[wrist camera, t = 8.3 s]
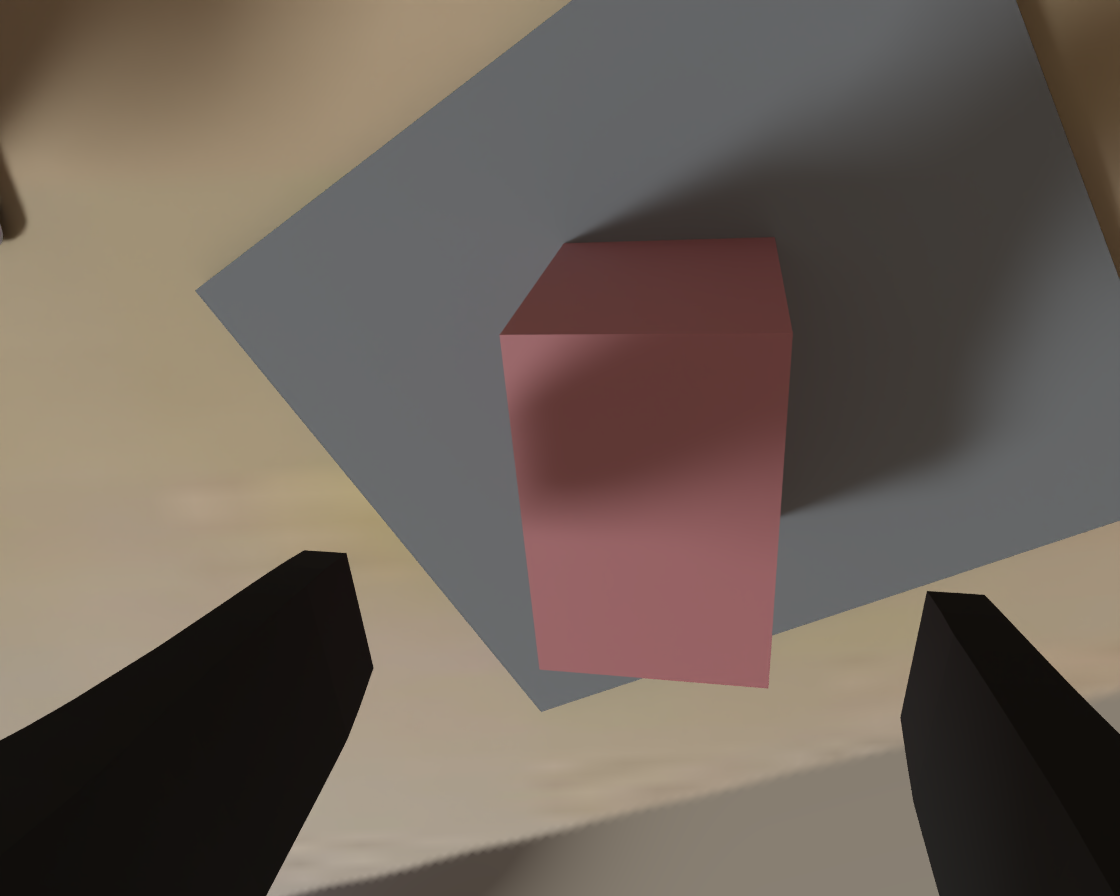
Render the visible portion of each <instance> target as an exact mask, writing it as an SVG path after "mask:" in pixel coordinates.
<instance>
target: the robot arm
mask: <svg viewBox="0 0 1120 896" xmlns="http://www.w3.org/2000/svg"><path fill="white" fill-rule="evenodd" d="M2 239H3V233H2V228H1V225H0V244H1V243H2ZM372 671H373V664H372V660H371V655H370V651H369V647H368V643H367V638H366V634H365V630H364V626H363V622H362V617H361V613H360V609H359V605H358V600H357V596H356V592H355V588H354V583H353V579H352V575H351V571H350V566H349V562H348V558H347V554H346V553H336V552H321V551H306V550H304V551H302V552H301V553H299V554H297V555H296V556H294V557H292V558H291V559H289V560H287V561H286V562H284V563H283V564H281V565H279V566H278V567H276V568H275V569H273V570H272V571H270V572H269V573H267V574H266V575H264V576H263V577H261V578H260V579H258V580H257V581H255V582H254V583H252V584H251V585H249V586H248V587H246V588H245V589H243V590H242V591H240V592H239V593H237V594H236V595H234V596H233V597H232V598H230V599H229V600H227V601H226V602H224V603H223V604H221V605H220V606H218V607H217V608H215V609H214V610H212V611H211V612H209V613H208V614H206V615H205V616H203V617H202V618H200V619H199V620H197V621H196V622H194V623H193V624H191V625H190V626H188V627H187V628H185V629H184V630H183V631H181V632H180V633H178V634H177V635H175V636H174V637H172V638H171V639H169V640H168V641H166V642H165V643H163V644H162V645H160V646H159V647H157V648H155V649H154V650H152V651H151V652H149V653H147V654H146V655H144V656H143V657H141V658H139V659H138V660H136V661H135V662H133V663H131V664H130V665H128V666H127V667H125V668H123V669H122V670H120V671H119V672H117V673H115V674H114V675H112V676H111V677H109V678H107V679H106V680H104V681H103V682H101V683H99V684H98V685H96V686H95V687H93V688H91V689H90V690H88V691H87V692H85V693H83V694H82V695H80V696H79V697H77V698H75V699H74V700H72V701H70V702H68V703H67V704H65V705H63V706H62V707H60V708H58V709H57V710H55V711H53V712H51V713H50V714H48V715H46V716H44V717H42V718H41V719H39V720H37V721H35V722H34V723H32V724H30V725H28V726H27V727H25V728H23V729H21V730H19V731H17V732H15V733H14V734H12V735H10V736H8V737H6V738H4V739H2V740H0V896H266V895H267V893H268V891H269V889H270V887H271V885H272V884H273V882H274V880H275V878H276V876H277V874H278V872H279V870H280V868H281V866H282V864H283V863H284V861H285V859H286V857H287V855H288V853H289V851H290V849H291V847H292V845H293V843H294V842H295V840H296V838H297V836H298V834H299V832H300V830H301V828H302V826H303V824H304V822H305V821H306V819H307V817H308V815H309V813H310V811H311V809H312V807H313V805H314V803H315V802H316V800H317V798H318V796H319V794H320V792H321V790H322V788H323V786H324V784H325V782H326V780H327V778H328V776H329V774H330V772H331V771H332V769H333V767H334V765H335V763H336V761H337V759H338V757H339V755H340V753H341V751H342V749H343V747H344V745H345V743H346V741H347V739H348V736H349V734H350V731H351V729H352V726H353V723H354V721H355V718H356V716H357V713H358V710H359V708H360V705H361V702H362V699H363V696H364V694H365V691H366V688H367V685H368V682H369V679H370V676H371V673H372ZM900 718H901V724H902V731H903V738H904V745H905V752H906V759H907V765H908V771H909V778H910V783H911V790H912V796H913V802H914V805H915V809H916V813H917V817H918V820H919V824H920V827H921V831H922V835H923V838H924V842H925V846H926V849H927V853H928V856H929V860H930V864H931V867H932V871H933V875H934V878H935V882H936V885H937V889H938V892H939V895H940V896H1120V734H1119V733H1118V732H1117V731H1116V730H1115V729H1114V728H1113V727H1112V726H1111V725H1110V724H1109V723H1108V722H1107V721H1106V720H1105V719H1104V718H1103V717H1102V716H1101V715H1100V714H1099V713H1098V712H1097V711H1096V710H1095V709H1094V708H1093V707H1092V706H1091V705H1090V704H1089V703H1088V702H1087V701H1086V700H1085V699H1084V698H1083V697H1082V696H1081V695H1080V694H1079V693H1078V692H1077V691H1076V690H1075V689H1074V688H1073V687H1072V686H1071V685H1070V684H1069V683H1068V682H1067V681H1066V680H1065V679H1064V678H1063V677H1062V676H1061V675H1060V674H1059V672H1058V671H1057V670H1056V669H1055V668H1054V667H1053V666H1052V665H1051V664H1050V663H1049V662H1048V661H1047V660H1046V659H1045V658H1044V657H1043V656H1042V655H1041V654H1040V653H1039V652H1038V651H1037V649H1036V648H1035V647H1034V646H1033V645H1032V644H1031V643H1030V642H1029V641H1028V640H1027V639H1026V638H1025V637H1024V636H1023V635H1022V634H1021V633H1020V632H1019V631H1018V629H1017V628H1016V627H1015V626H1014V625H1013V624H1012V623H1011V622H1010V621H1009V620H1008V619H1007V618H1006V617H1005V616H1004V615H1003V614H1002V613H1001V612H1000V610H999V609H998V608H997V607H996V606H995V605H994V604H993V603H992V602H991V601H990V600H989V599H988V598H987V597H986V596H985V595H978V594H963V593H947V592H932V591H927V594H926V598H925V603H924V608H923V613H922V618H921V622H920V627H919V632H918V637H917V641H916V646H915V651H914V656H913V660H912V665H911V670H910V675H909V679H908V684H907V689H906V694H905V698H904V703H903V708H902V713H901V717H900Z"/></svg>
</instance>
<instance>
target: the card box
mask: <svg viewBox="0 0 1120 896" xmlns="http://www.w3.org/2000/svg"><path fill="white" fill-rule="evenodd" d="M792 338H793V331H792V326H791V321H790V316H789V310H788V305H787V300H786V294H785V289H784V284H783V278H782V273H781V268H780V262H779V257H778V252H777V247H776V241H775V237H762V238H727V239H693V240H658V241H623V242H589V243H564V244H563V245H562V247H561V248H560V249H559V251H558V252H557V254H556V255H555V256H554V258H553V259H552V261H551V262H550V264H549V265H548V266H547V268H546V269H545V271H544V272H543V274H542V275H541V276H540V278H539V279H538V281H537V282H536V284H535V285H534V286H533V288H532V289H531V291H530V292H529V294H528V295H527V296H526V298H525V299H524V301H523V302H522V303H521V305H520V306H519V308H518V309H517V311H516V312H515V313H514V315H513V316H512V318H511V319H510V321H509V322H508V323H507V325H506V326H505V328H504V329H503V331H502V332H501V333H500V343H501V351H502V360H503V368H504V376H505V385H506V393H507V402H508V410H509V418H510V427H511V435H512V443H513V452H514V460H515V469H516V477H517V485H518V494H519V502H520V510H521V519H522V527H523V535H524V544H525V552H526V561H527V569H528V577H529V586H530V594H531V602H532V611H533V619H534V628H535V636H536V644H537V653H538V661H539V669H540V670H551V671H563V672H575V673H588V674H600V675H612V676H624V677H636V678H648V679H661V680H673V681H685V682H697V683H709V684H721V685H734V686H746V687H758V688H768V685H769V671H770V656H771V642H772V627H773V613H774V598H775V584H776V570H777V555H778V541H779V526H780V512H781V497H782V483H783V468H784V454H785V439H786V425H787V410H788V396H789V382H790V367H791V353H792Z"/></svg>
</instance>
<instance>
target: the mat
mask: <svg viewBox="0 0 1120 896" xmlns="http://www.w3.org/2000/svg"><path fill="white" fill-rule="evenodd" d="M762 237H775V241H776V247H777V252H778V257H779V262H780V268H781V273H782V278H783V284H784V289H785V294H786V300H787V305H788V310H789V316H790V321H791V326H792V331H793V338H792V353H791V367H790V382H789V396H788V410H787V425H786V439H785V454H784V468H783V483H782V497H781V512H780V526H779V541H778V555H777V570H776V584H775V598H774V613H773V627H772V635H775V634H778V633H781V632H784V631H787V630H790V629H793V628H796V627H799V626H802V625H805V624H808V623H811V622H814V621H817V620H820V619H823V618H826V617H829V616H832V615H835V614H838V613H841V612H844V611H847V610H850V609H853V608H856V607H860V606H863V605H866V604H869V603H872V602H875V601H878V600H881V599H884V598H887V597H890V596H893V595H896V594H899V593H902V592H905V591H908V590H911V589H914V588H917V587H920V586H923V585H926V584H929V583H932V582H935V581H938V580H941V579H944V578H947V577H950V576H953V575H956V574H959V573H962V572H965V571H968V570H971V569H974V568H977V567H980V566H983V565H987V564H990V563H993V562H996V561H999V560H1002V559H1005V558H1008V557H1011V556H1014V555H1017V554H1020V553H1023V552H1026V551H1029V550H1032V549H1035V548H1038V547H1041V546H1044V545H1047V544H1050V543H1053V542H1056V541H1059V540H1062V539H1065V538H1068V537H1071V536H1074V535H1077V534H1080V533H1083V532H1086V531H1089V530H1092V529H1095V528H1098V527H1101V526H1104V525H1107V524H1110V523H1113V522H1117V521H1120V279H1119V277H1118V274H1117V271H1116V269H1115V266H1114V263H1113V260H1112V258H1111V255H1110V252H1109V250H1108V247H1107V244H1106V242H1105V239H1104V236H1103V234H1102V231H1101V228H1100V225H1099V223H1098V220H1097V217H1096V215H1095V212H1094V209H1093V207H1092V204H1091V201H1090V199H1089V196H1088V193H1087V190H1086V188H1085V185H1084V182H1083V180H1082V177H1081V174H1080V172H1079V169H1078V166H1077V164H1076V161H1075V158H1074V155H1073V153H1072V150H1071V147H1070V145H1069V142H1068V139H1067V137H1066V134H1065V131H1064V129H1063V126H1062V123H1061V120H1060V118H1059V115H1058V112H1057V110H1056V107H1055V104H1054V102H1053V99H1052V96H1051V94H1050V91H1049V88H1048V85H1047V83H1046V80H1045V77H1044V75H1043V72H1042V69H1041V67H1040V64H1039V61H1038V58H1037V56H1036V53H1035V50H1034V48H1033V45H1032V42H1031V40H1030V37H1029V34H1028V32H1027V29H1026V26H1025V23H1024V21H1023V18H1022V15H1021V13H1020V10H1019V7H1018V5H1017V2H1016V0H572V1H571V2H569V3H568V4H567V5H566V6H564V7H563V8H562V9H560V10H559V11H558V12H556V13H555V14H554V15H553V16H551V17H550V18H549V19H547V20H546V21H545V22H543V23H542V24H541V25H540V26H538V27H537V28H536V29H534V30H533V31H532V32H530V33H529V34H528V35H527V36H525V37H524V38H523V39H521V40H520V41H519V42H517V43H516V44H515V45H514V46H512V47H511V48H510V49H508V50H507V51H506V52H505V53H503V54H502V55H501V56H499V57H498V58H497V59H495V60H494V61H493V62H492V63H490V64H489V65H488V66H486V67H485V68H484V69H482V70H481V71H480V72H479V73H477V74H476V75H475V76H473V77H472V78H471V79H469V80H468V81H467V82H466V83H464V84H463V85H462V86H460V87H459V88H458V89H456V90H455V91H454V92H453V93H451V94H450V95H449V96H447V97H446V98H445V99H443V100H442V101H441V102H440V103H438V104H437V105H436V106H434V107H433V108H432V109H430V110H429V111H428V112H427V113H425V114H424V115H423V116H421V117H420V118H419V119H417V120H416V121H415V122H414V123H412V124H411V125H410V126H408V127H407V128H406V129H404V130H403V131H402V132H401V133H399V134H398V135H397V136H395V137H394V138H393V139H392V140H390V141H389V142H388V143H386V144H385V145H384V146H382V147H381V148H380V149H379V150H377V151H376V152H375V153H373V154H372V155H371V156H369V157H368V158H367V159H366V160H364V161H363V162H362V163H360V164H359V165H358V166H356V167H355V168H354V169H353V170H351V171H350V172H349V173H347V174H346V175H345V176H343V177H342V178H341V179H340V180H338V181H337V182H336V183H334V184H333V185H332V186H330V187H329V188H328V189H327V190H325V191H324V192H323V193H321V194H320V195H319V196H317V197H316V198H315V199H314V200H312V201H311V202H310V203H308V204H307V205H306V206H304V207H303V208H302V209H301V210H299V211H298V212H297V213H295V214H294V215H293V216H291V217H290V218H289V219H288V220H286V221H285V222H284V223H282V224H281V225H280V226H279V227H277V228H276V229H275V230H273V231H272V232H271V233H269V234H268V235H267V236H266V237H264V238H263V239H262V240H260V241H259V242H258V243H256V244H255V245H254V246H253V247H251V248H250V249H249V250H247V251H246V252H245V253H243V254H242V255H241V256H240V257H238V258H237V259H236V260H234V261H233V262H232V263H230V264H229V265H228V266H227V267H225V268H224V269H223V270H221V271H220V272H219V273H217V274H216V275H215V276H214V277H212V278H211V279H210V280H208V281H207V282H206V283H204V284H203V285H202V286H201V287H199V288H198V289H197V290H195V291H196V292H197V293H198V295H199V296H200V297H201V298H202V300H203V301H204V302H205V303H206V304H207V306H208V307H209V308H210V309H211V310H212V312H213V313H214V314H215V315H216V317H217V318H218V319H219V320H220V321H221V323H222V324H223V325H224V326H225V328H226V329H227V330H228V331H229V332H230V334H231V335H232V336H233V337H234V338H235V340H236V341H237V342H238V343H239V345H240V346H241V347H242V348H243V349H244V351H245V352H246V353H247V354H248V356H249V357H250V358H251V359H252V360H253V362H254V363H255V364H256V365H257V366H258V368H259V369H260V370H261V371H262V373H263V374H264V375H265V376H266V377H267V379H268V380H269V381H270V382H271V384H272V385H273V386H274V387H275V388H276V390H277V391H278V392H279V393H280V394H281V396H282V397H283V398H284V399H285V401H286V402H287V403H288V404H289V405H290V407H291V408H292V409H293V410H294V412H295V413H296V414H297V415H298V416H299V418H300V419H301V420H302V421H303V423H304V424H305V425H306V426H307V427H308V429H309V430H310V431H311V432H312V433H313V435H314V436H315V437H316V438H317V440H318V441H319V442H320V443H321V444H322V446H323V447H324V448H325V449H326V451H327V452H328V453H329V454H330V455H331V457H332V458H333V459H334V460H335V461H336V463H337V464H338V465H339V466H340V468H341V469H342V470H343V471H344V472H345V474H346V475H347V476H348V477H349V479H350V480H351V481H352V482H353V483H354V485H355V486H356V487H357V488H358V489H359V491H360V492H361V493H362V494H363V496H364V497H365V498H366V499H367V500H368V502H369V503H370V504H371V505H372V507H373V508H374V509H375V510H376V511H377V513H378V514H379V515H380V516H381V517H382V519H383V520H384V521H385V522H386V524H387V525H388V526H389V527H390V528H391V530H392V531H393V532H394V533H395V535H396V536H397V537H398V538H399V539H400V541H401V542H402V543H403V544H404V545H405V547H406V548H407V549H408V550H409V552H410V553H411V554H412V555H413V556H414V558H415V559H416V560H417V561H418V563H419V564H420V565H421V566H422V567H423V569H424V570H425V571H426V572H427V574H428V575H429V576H430V577H431V578H432V580H433V581H434V582H435V583H436V584H437V586H438V587H439V588H440V589H441V591H442V592H443V593H444V594H445V595H446V597H447V598H448V599H449V600H450V602H451V603H452V604H453V605H454V606H455V608H456V609H457V610H458V611H459V612H460V614H461V615H462V616H463V617H464V619H465V620H466V621H467V622H468V623H469V625H470V626H471V627H472V628H473V630H474V631H475V632H476V633H477V634H478V636H479V637H480V638H481V639H482V640H483V642H484V643H485V644H486V645H487V647H488V648H489V649H490V650H491V651H492V653H493V654H494V655H495V656H496V658H497V659H498V660H499V661H500V662H501V664H502V665H503V666H504V667H505V668H506V670H507V671H508V672H509V673H510V675H511V676H512V677H513V678H514V679H515V681H516V682H517V683H518V684H519V686H520V687H521V688H522V689H523V690H524V692H525V693H526V694H527V695H528V697H529V698H530V699H531V700H532V701H533V703H534V704H535V705H536V706H537V707H538V709H539V710H540V711H541V712H542V711H545V710H548V709H551V708H554V707H557V706H560V705H563V704H566V703H569V702H572V701H575V700H578V699H581V698H584V697H587V696H590V695H593V694H596V693H599V692H603V691H606V690H609V689H612V688H615V687H618V686H621V685H624V684H627V683H630V682H633V681H636V680H639V679H642V678H636V677H624V676H612V675H600V674H588V673H575V672H563V671H551V670H540V669H539V661H538V653H537V644H536V636H535V628H534V619H533V611H532V602H531V594H530V586H529V577H528V569H527V561H526V552H525V544H524V535H523V527H522V519H521V510H520V502H519V494H518V485H517V477H516V469H515V460H514V452H513V443H512V435H511V427H510V418H509V410H508V402H507V393H506V385H505V376H504V368H503V360H502V351H501V343H500V333H501V332H502V331H503V329H504V328H505V326H506V325H507V323H508V322H509V321H510V319H511V318H512V316H513V315H514V313H515V312H516V311H517V309H518V308H519V306H520V305H521V303H522V302H523V301H524V299H525V298H526V296H527V295H528V294H529V292H530V291H531V289H532V288H533V286H534V285H535V284H536V282H537V281H538V279H539V278H540V276H541V275H542V274H543V272H544V271H545V269H546V268H547V266H548V265H549V264H550V262H551V261H552V259H553V258H554V256H555V255H556V254H557V252H558V251H559V249H560V248H561V247H562V245H563V244H564V243H589V242H623V241H658V240H693V239H727V238H762Z"/></svg>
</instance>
